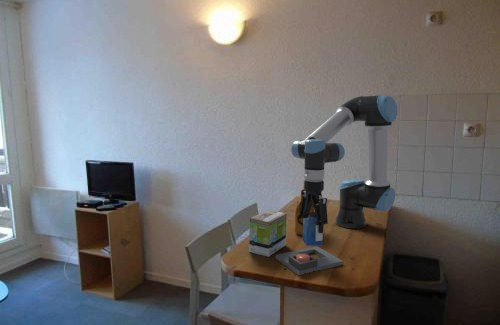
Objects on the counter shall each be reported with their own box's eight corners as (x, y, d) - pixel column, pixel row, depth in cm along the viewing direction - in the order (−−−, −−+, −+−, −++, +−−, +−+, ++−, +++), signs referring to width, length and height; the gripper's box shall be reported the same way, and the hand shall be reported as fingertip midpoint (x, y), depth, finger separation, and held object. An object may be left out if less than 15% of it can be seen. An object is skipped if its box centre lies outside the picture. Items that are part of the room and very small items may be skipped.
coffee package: (291, 234, 164) (292, 189, 161) (296, 226, 176) (297, 183, 172) (312, 237, 161) (314, 190, 158) (316, 228, 173) (317, 185, 169)
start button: (304, 258, 132) (304, 253, 131) (312, 263, 127) (312, 258, 127) (293, 260, 130) (293, 255, 129) (300, 265, 125) (301, 260, 125)
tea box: (269, 257, 138) (270, 221, 136) (248, 252, 144) (248, 217, 142) (286, 245, 151) (287, 212, 149) (266, 241, 156) (266, 209, 154)
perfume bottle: (302, 239, 140) (303, 210, 138) (317, 239, 140) (318, 210, 138) (306, 245, 134) (307, 215, 132) (322, 245, 134) (323, 214, 132)
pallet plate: (317, 249, 146) (317, 240, 146) (342, 264, 132) (343, 254, 131) (275, 258, 138) (275, 248, 137) (298, 275, 123) (298, 264, 123)
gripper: (291, 176, 141) (290, 230, 144) (322, 185, 122) (320, 247, 126) (306, 174, 144) (305, 227, 147) (339, 184, 126) (337, 244, 129)
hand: (312, 236), depth 137 cm, fingers closed on perfume bottle, 8 cm apart
